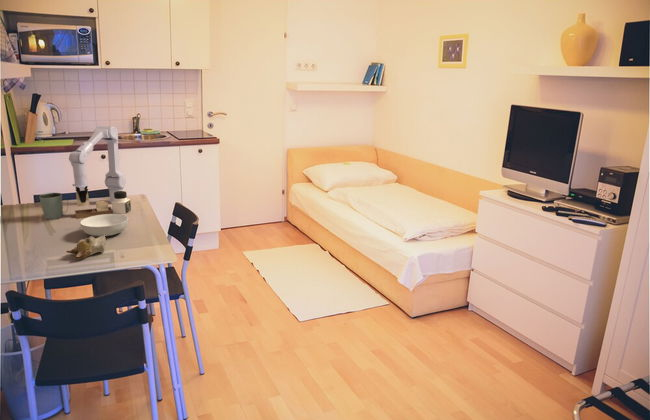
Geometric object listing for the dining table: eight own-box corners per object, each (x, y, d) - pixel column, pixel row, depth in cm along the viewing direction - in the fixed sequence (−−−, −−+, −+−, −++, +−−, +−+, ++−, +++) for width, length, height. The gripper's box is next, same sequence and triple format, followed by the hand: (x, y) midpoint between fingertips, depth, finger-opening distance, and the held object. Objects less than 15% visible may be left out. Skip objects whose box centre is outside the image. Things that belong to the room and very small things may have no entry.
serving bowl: (138, 229, 248) (137, 215, 246) (110, 243, 229) (108, 228, 227) (102, 225, 253) (100, 211, 251) (71, 238, 234) (69, 224, 232)
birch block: (77, 204, 264) (75, 192, 262) (89, 203, 266) (87, 191, 264) (77, 206, 260) (76, 194, 259) (89, 205, 263) (88, 193, 261)
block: (97, 212, 269) (95, 201, 267) (108, 211, 271) (107, 200, 270) (97, 214, 266) (96, 203, 264) (109, 213, 268) (107, 202, 266)
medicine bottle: (126, 215, 269) (124, 193, 265) (112, 215, 269) (110, 193, 266) (131, 211, 276) (129, 189, 272) (118, 211, 276) (116, 189, 272)
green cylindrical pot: (68, 215, 268) (65, 193, 264) (57, 221, 258) (53, 198, 254) (50, 214, 268) (47, 192, 265) (38, 220, 259) (34, 197, 255)
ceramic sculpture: (109, 234, 214) (72, 244, 204) (113, 253, 216) (76, 264, 207) (99, 228, 221) (62, 238, 211) (102, 247, 224) (66, 257, 214)
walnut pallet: (75, 215, 268) (74, 209, 267) (111, 211, 275) (110, 206, 274) (76, 220, 259) (75, 215, 258) (112, 216, 266) (112, 211, 266)
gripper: (70, 173, 263) (74, 198, 267) (71, 178, 251) (75, 205, 255) (86, 172, 267) (89, 197, 270) (87, 177, 254) (90, 204, 258)
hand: (83, 201), depth 263 cm, fingers closed on birch block, 4 cm apart
